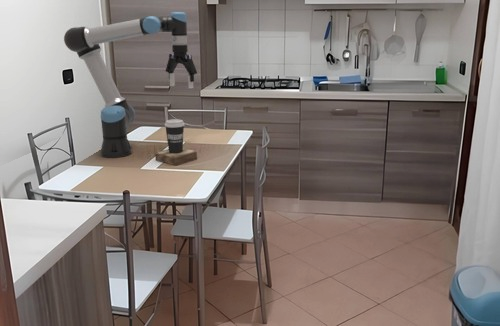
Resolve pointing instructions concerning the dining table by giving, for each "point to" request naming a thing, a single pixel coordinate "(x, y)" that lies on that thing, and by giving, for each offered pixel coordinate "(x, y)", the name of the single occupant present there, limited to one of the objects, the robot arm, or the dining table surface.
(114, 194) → the dining table surface
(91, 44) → the robot arm
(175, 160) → the pedestal
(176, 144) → the coffee cup
